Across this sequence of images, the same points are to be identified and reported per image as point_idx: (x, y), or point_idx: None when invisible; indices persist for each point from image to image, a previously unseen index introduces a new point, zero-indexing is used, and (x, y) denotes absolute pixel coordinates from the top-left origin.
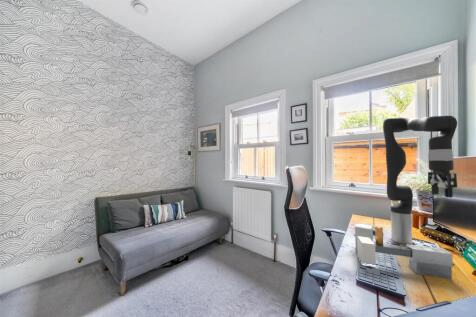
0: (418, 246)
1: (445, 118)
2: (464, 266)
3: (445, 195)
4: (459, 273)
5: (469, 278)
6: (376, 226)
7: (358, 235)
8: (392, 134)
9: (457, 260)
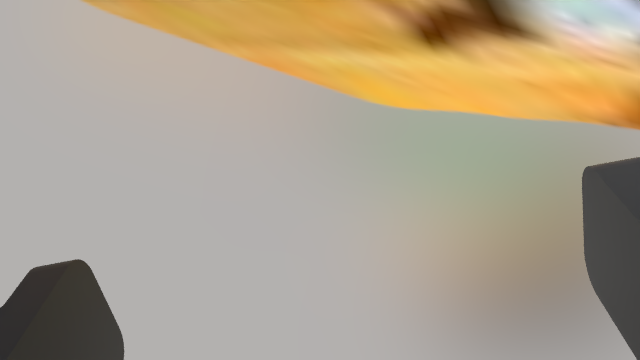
0: None
1: None
2: (425, 92)
3: (25, 279)
4: (293, 28)
5: (252, 55)
6: None
7: None
8: None
9: (511, 89)
